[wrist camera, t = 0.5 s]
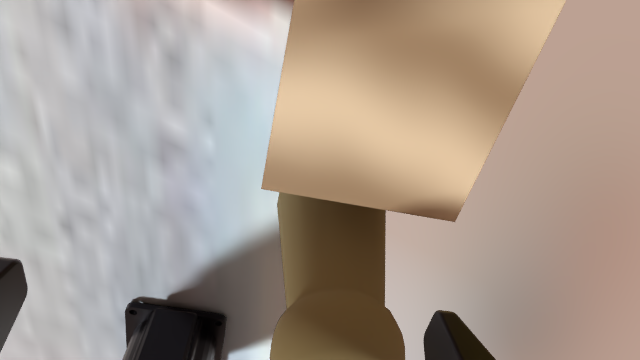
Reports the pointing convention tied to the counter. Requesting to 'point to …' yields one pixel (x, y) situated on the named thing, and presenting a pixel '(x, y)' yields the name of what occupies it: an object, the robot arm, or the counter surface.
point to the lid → (399, 98)
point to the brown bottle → (333, 283)
